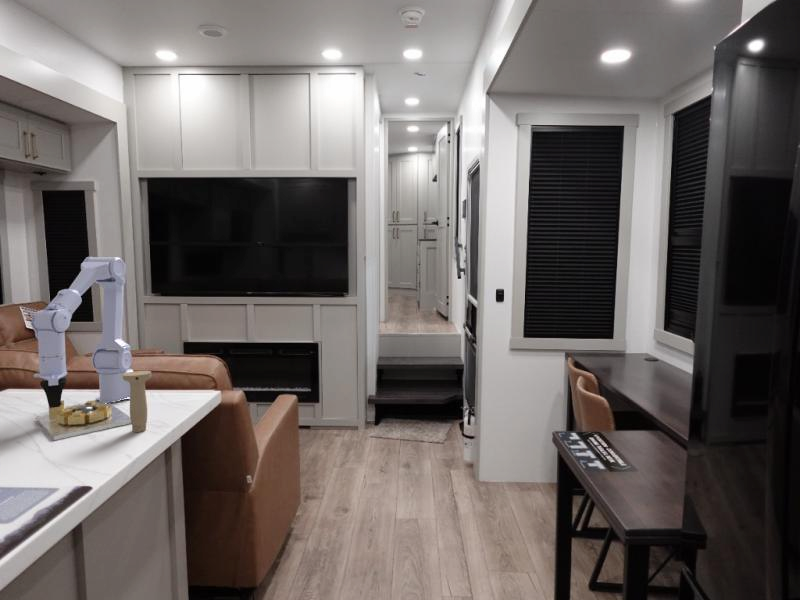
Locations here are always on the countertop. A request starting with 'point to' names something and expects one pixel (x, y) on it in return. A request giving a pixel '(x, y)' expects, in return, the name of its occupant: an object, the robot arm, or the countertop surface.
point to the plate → (66, 430)
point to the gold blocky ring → (79, 413)
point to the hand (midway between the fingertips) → (54, 407)
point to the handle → (138, 398)
